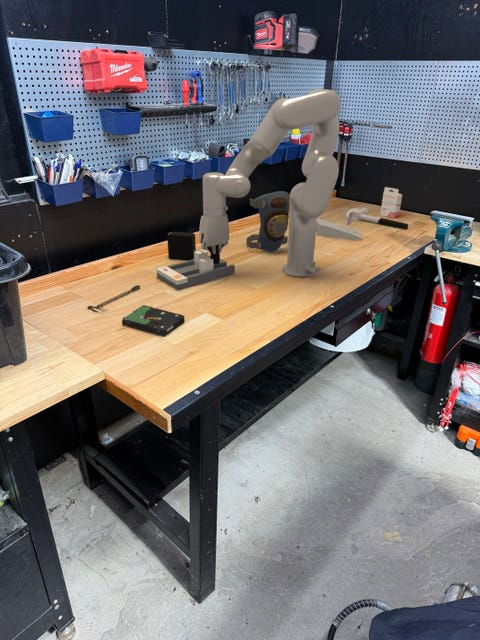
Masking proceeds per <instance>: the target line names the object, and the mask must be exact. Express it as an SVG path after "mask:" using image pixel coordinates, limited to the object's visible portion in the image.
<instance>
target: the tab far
mask: <svg viewBox="0 0 480 640" xmlns="http://www.w3.org/2000/svg"><path fill="white" fill-rule="evenodd" d="M208 256H209V251H208V250H203V249H197V250H196V251H195V252H194V259H193V260H194V261H195V264H199V260H200V259H203V257H205V258H208Z"/></svg>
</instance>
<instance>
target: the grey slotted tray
mask: <svg viewBox="0 0 480 640" xmlns="http://www.w3.org/2000/svg"><path fill="white" fill-rule="evenodd" d="M208 257H209V258H210V255H208ZM227 264H228V262H227V261H226V260H225V259H221V258H220V263H219V264H216V265H215V264H213V270H210V271H206V272H202V273H199V264H195V261H194V259H193V260H190V261H185V260H184V261H182V262H177V263H174V264H170V265H166V266H161V267H158V268H156V279H158V280H159V281H161V282H163V283H165V284H166V285H168V286H170V287H171V288H173V289H175V290H176V291H181V290H184V289H188V288H191V287H194V286H195V287H196V286H198V285H202V284H206V283H208V282H213V281H217V280H219V279H223V278H227V277H230V276H234V275H235V273H236V272H235V271H236V270H235V269H236V266H235V265H234V264H229V265H227Z"/></svg>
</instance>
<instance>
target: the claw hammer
mask: <svg viewBox="0 0 480 640" xmlns="http://www.w3.org/2000/svg"><path fill="white" fill-rule="evenodd" d="M345 214H346V215H345V221H344V223H345V226H348V225H349V222H355V221H356V222H359V221H361V220H362V221H366V222H371V223H375V224H378V225H382V226H386V227H391V228H395V229H400V230H405V231H406V230H408V228H409V223H406V222H401V221H398V220H396V221H395V220H393V219H387V218H383V217H379V216H378V217H377V216H373V215H369V210H368V209H367V207H362V208H360V209H359V208H355V207H354V208H350V209H349V210H348V211H347V212H346V213H345Z"/></svg>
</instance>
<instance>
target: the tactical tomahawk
mask: <svg viewBox="0 0 480 640" xmlns="http://www.w3.org/2000/svg"><path fill="white" fill-rule="evenodd" d="M140 288H141V285H134V286H132V288H131V289H130V290H127V291H124V292H122V293H120V294H118V295H116V296H113V297H111V298H110V299H107V300H105V301H103V302H101V303H99V304H97V305H96V306H92V305H88V306H87V310H89V311H92V312H93V313H99V311H98V310H100V311H103V309H102V308H104V306H106V305H108V304H110V303H111V304H112V303H113V302H115V301H117V300H119V299H122V298H124V297H125V296H128V295H130V294H133V293H135V292H136V290H138V289H140Z"/></svg>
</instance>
